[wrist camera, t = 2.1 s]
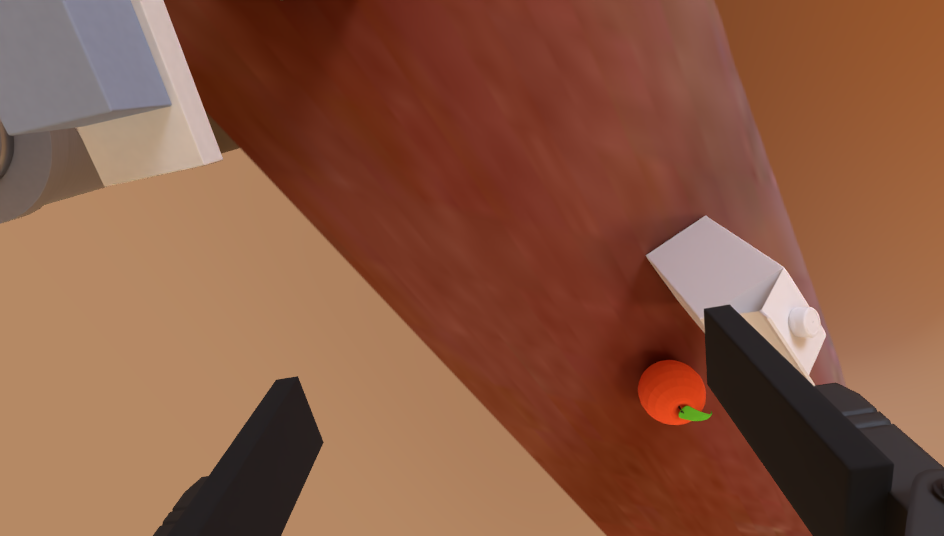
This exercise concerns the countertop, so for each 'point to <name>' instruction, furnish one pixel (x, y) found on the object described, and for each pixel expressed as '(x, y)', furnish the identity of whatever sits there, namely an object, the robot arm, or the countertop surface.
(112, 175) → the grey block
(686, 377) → the clementine
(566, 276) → the countertop surface
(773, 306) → the milk carton
